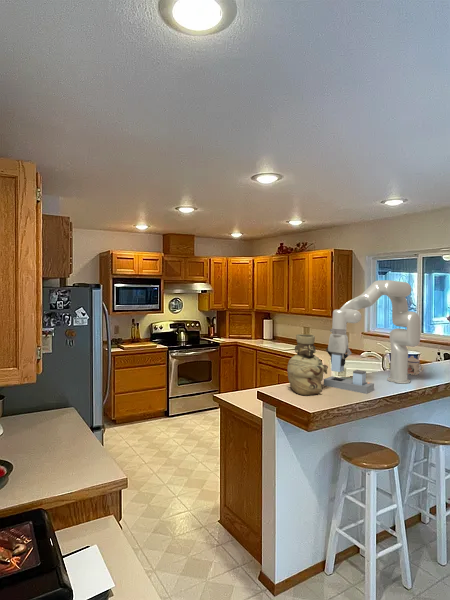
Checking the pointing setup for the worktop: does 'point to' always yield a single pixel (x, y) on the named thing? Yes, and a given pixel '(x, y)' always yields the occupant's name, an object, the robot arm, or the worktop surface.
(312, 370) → the ceramic vessel
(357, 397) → the worktop surface
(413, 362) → the teacup with lid
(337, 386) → the grey slotted holder
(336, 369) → the plug
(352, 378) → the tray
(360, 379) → the twin plug
